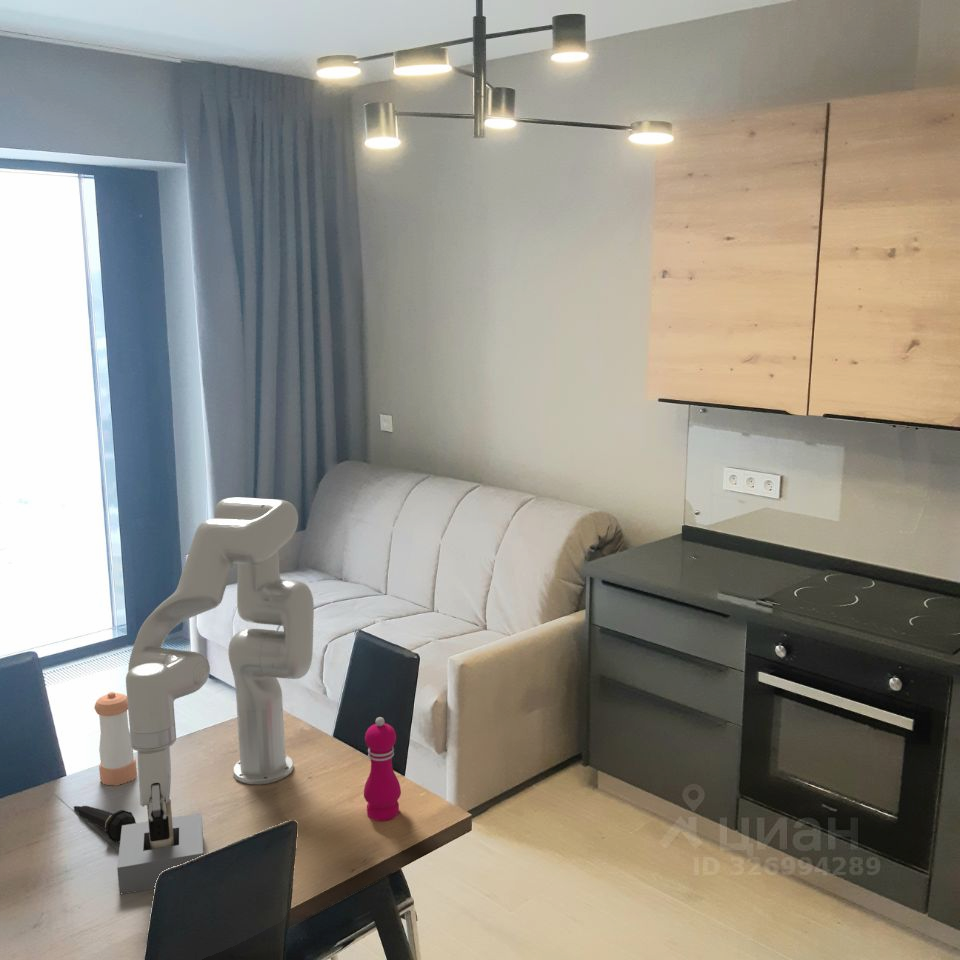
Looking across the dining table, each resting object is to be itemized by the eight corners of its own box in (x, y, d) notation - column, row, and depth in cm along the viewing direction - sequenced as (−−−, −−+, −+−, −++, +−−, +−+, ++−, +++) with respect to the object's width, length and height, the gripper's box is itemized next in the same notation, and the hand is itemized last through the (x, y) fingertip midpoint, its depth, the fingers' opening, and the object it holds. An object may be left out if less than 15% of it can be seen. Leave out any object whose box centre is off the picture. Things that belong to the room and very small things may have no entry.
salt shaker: (137, 781, 201) (130, 696, 197) (100, 788, 198) (92, 702, 195) (135, 766, 207) (129, 683, 204) (100, 773, 205) (92, 689, 201)
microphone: (69, 828, 189) (123, 851, 176) (56, 805, 187) (109, 827, 175) (93, 809, 193) (146, 830, 180) (80, 787, 191) (134, 806, 178)
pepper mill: (395, 824, 183) (392, 726, 180) (359, 820, 185) (355, 724, 181) (405, 805, 190) (403, 711, 187) (371, 801, 192) (367, 708, 188)
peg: (152, 860, 172) (147, 799, 170) (175, 856, 173) (170, 795, 171) (151, 872, 168) (146, 810, 166) (175, 868, 170) (170, 806, 167)
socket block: (124, 850, 175) (122, 825, 175) (203, 837, 180) (201, 812, 179) (119, 894, 162) (117, 867, 161) (205, 879, 166) (203, 853, 165)
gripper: (132, 717, 173) (140, 806, 177) (127, 760, 157) (136, 857, 160) (176, 711, 176) (182, 800, 179) (175, 753, 159) (182, 849, 162)
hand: (160, 826), depth 170 cm, fingers open, 7 cm apart
